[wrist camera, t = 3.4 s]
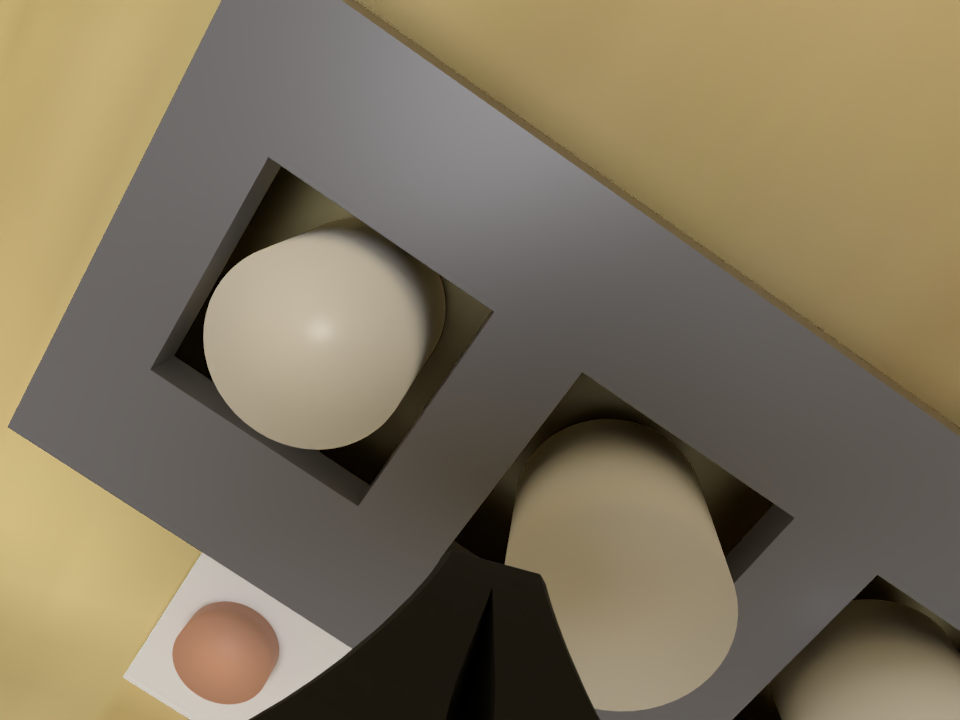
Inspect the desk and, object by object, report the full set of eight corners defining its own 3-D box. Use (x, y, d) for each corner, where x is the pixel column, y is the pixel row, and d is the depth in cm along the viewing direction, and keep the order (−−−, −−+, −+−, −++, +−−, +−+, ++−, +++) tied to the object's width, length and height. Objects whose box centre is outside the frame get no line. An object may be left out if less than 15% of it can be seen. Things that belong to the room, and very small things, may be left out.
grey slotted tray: (1141, 555, 19) (1283, 665, 15) (823, 837, 22) (875, 985, 18) (323, -22, 17) (252, -63, 14) (112, 371, 21) (7, 427, 17)
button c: (479, 283, 18) (453, 325, 14) (388, 416, 19) (341, 487, 16) (332, 182, 18) (266, 198, 14) (249, 323, 19) (168, 372, 15)
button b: (741, 489, 17) (789, 595, 13) (626, 617, 18) (640, 750, 14) (587, 382, 17) (589, 459, 13) (480, 521, 18) (454, 629, 14)
